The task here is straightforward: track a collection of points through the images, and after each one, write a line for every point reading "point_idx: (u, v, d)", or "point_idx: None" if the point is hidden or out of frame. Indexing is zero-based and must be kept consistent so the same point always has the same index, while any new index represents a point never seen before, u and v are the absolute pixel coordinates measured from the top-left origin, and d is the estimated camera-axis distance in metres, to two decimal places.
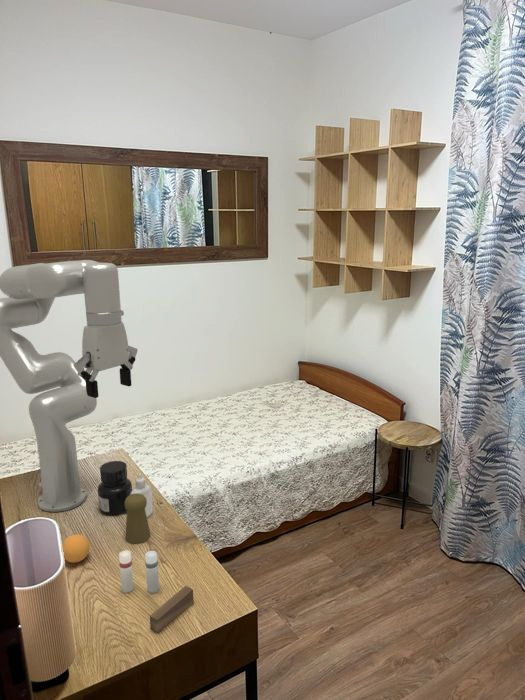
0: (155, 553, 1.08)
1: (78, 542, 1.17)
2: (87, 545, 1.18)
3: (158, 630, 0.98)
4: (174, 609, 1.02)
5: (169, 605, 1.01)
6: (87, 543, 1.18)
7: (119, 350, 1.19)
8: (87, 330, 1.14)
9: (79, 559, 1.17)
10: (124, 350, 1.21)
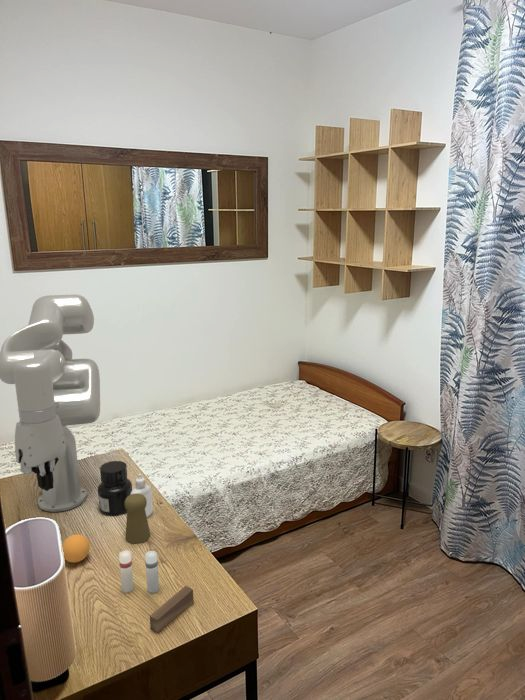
0: (155, 553, 1.08)
1: (78, 542, 1.17)
2: (87, 545, 1.18)
3: (158, 630, 0.98)
4: (174, 609, 1.02)
5: (169, 605, 1.01)
6: (87, 543, 1.18)
7: (53, 444, 1.18)
8: (18, 428, 1.13)
9: (79, 559, 1.17)
10: (60, 443, 1.19)
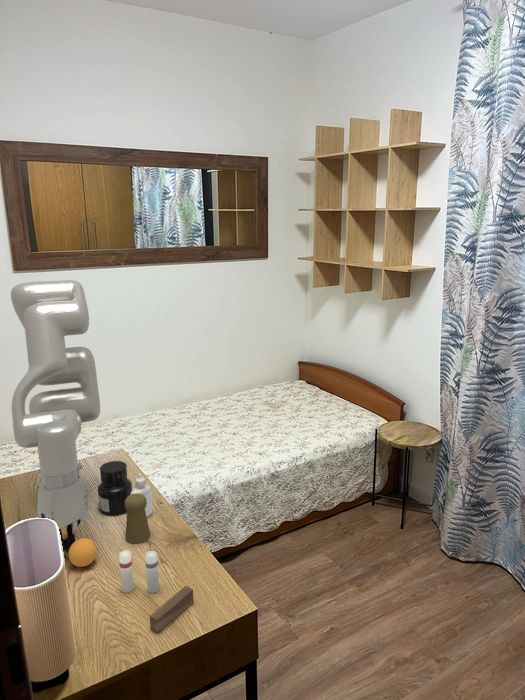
0: (155, 553, 1.08)
1: (89, 553, 1.15)
2: (95, 555, 1.17)
3: (158, 630, 0.98)
4: (174, 609, 1.02)
5: (169, 605, 1.01)
6: (95, 553, 1.17)
7: (76, 507, 1.17)
8: (41, 492, 1.12)
9: (83, 566, 1.16)
10: (82, 505, 1.18)
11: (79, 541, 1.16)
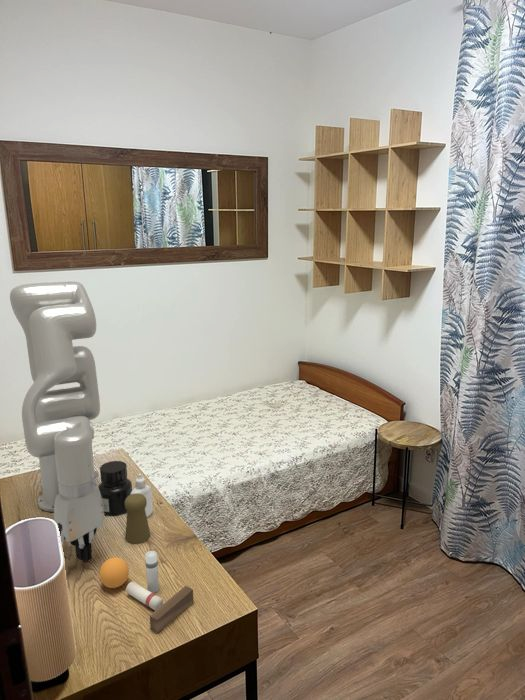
0: (155, 553, 1.08)
1: None
2: None
3: (158, 630, 0.98)
4: (174, 609, 1.02)
5: (169, 605, 1.01)
6: None
7: (93, 516, 1.14)
8: (58, 502, 1.10)
9: (108, 564, 1.09)
10: (99, 513, 1.16)
11: None
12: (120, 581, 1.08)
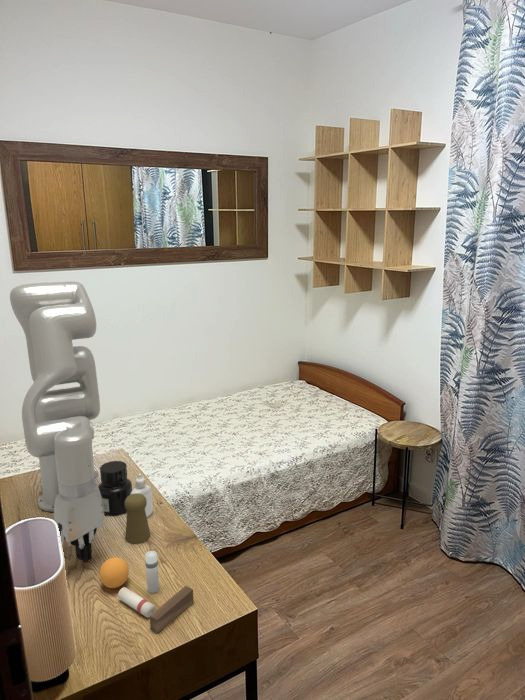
0: (155, 553, 1.08)
1: None
2: None
3: (158, 630, 0.98)
4: (174, 609, 1.02)
5: (169, 605, 1.01)
6: None
7: (93, 516, 1.14)
8: (58, 502, 1.10)
9: (108, 564, 1.09)
10: (99, 513, 1.16)
11: None
12: (120, 581, 1.08)
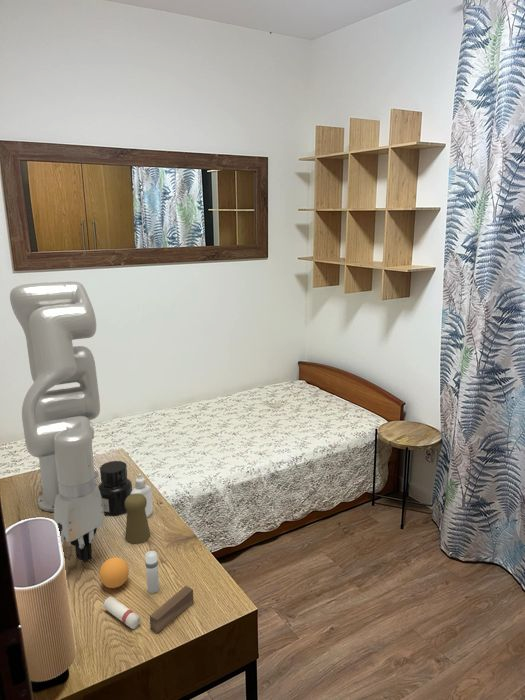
0: (155, 553, 1.08)
1: None
2: None
3: (158, 630, 0.98)
4: (174, 609, 1.02)
5: (169, 605, 1.01)
6: None
7: (93, 516, 1.14)
8: (58, 502, 1.10)
9: (108, 564, 1.09)
10: (99, 513, 1.16)
11: None
12: (120, 581, 1.08)
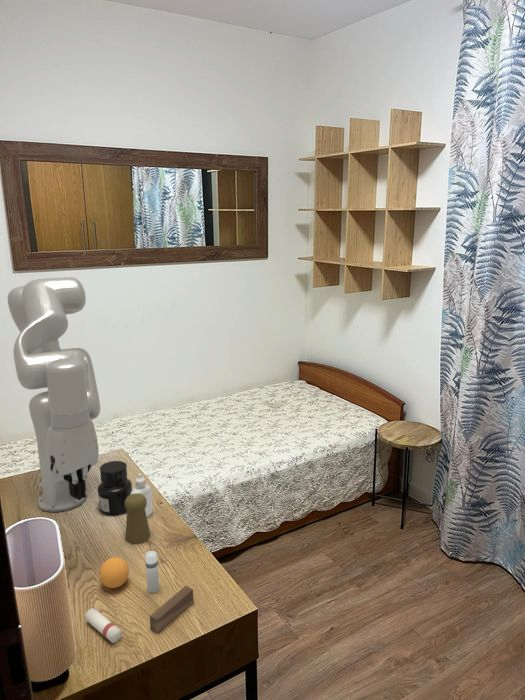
0: (155, 553, 1.08)
1: None
2: None
3: (158, 630, 0.98)
4: (174, 609, 1.02)
5: (169, 605, 1.01)
6: None
7: (87, 450, 1.11)
8: (51, 433, 1.06)
9: (108, 564, 1.09)
10: (93, 449, 1.12)
11: None
12: (120, 581, 1.08)
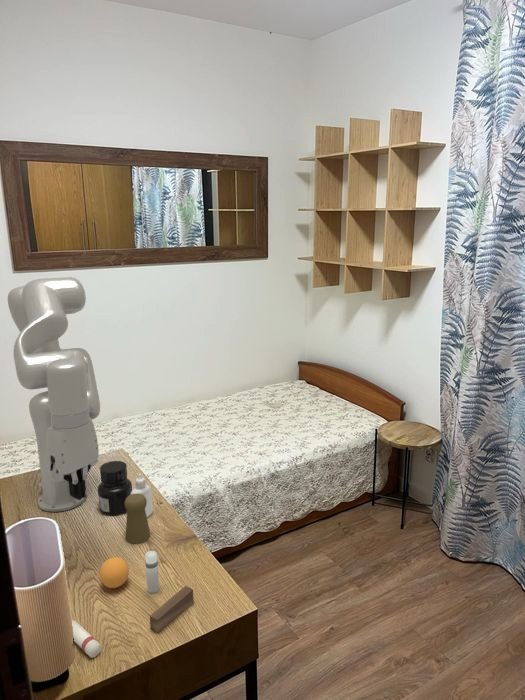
0: (155, 553, 1.08)
1: None
2: None
3: (158, 630, 0.98)
4: (174, 609, 1.02)
5: (169, 605, 1.01)
6: None
7: (87, 450, 1.11)
8: (51, 433, 1.06)
9: (108, 564, 1.09)
10: (93, 449, 1.12)
11: None
12: (120, 581, 1.08)
